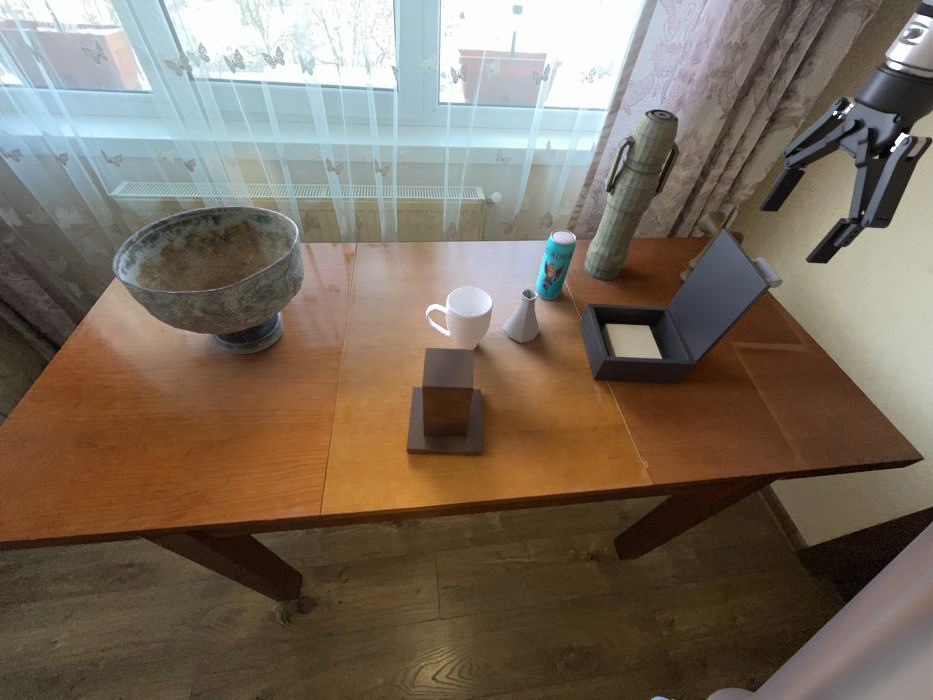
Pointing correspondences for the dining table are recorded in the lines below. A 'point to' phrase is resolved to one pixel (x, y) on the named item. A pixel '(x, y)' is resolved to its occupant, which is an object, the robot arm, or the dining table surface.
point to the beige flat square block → (630, 341)
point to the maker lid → (719, 293)
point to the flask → (523, 318)
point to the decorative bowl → (216, 273)
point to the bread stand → (446, 406)
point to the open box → (631, 368)
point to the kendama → (713, 226)
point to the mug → (464, 316)
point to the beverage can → (555, 263)
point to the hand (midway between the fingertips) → (790, 234)
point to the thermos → (632, 190)
